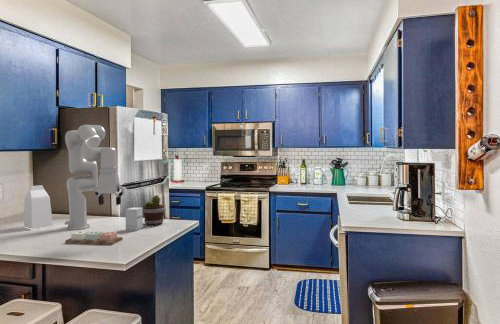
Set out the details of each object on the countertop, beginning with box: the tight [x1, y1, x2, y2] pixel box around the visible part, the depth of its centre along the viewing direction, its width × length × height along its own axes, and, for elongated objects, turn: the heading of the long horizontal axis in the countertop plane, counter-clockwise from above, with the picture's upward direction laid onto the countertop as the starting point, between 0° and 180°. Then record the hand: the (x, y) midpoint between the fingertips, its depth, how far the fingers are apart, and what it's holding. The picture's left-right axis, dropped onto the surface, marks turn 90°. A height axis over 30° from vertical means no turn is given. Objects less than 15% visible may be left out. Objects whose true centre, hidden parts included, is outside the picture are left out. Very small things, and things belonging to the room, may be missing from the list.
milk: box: [23, 184, 54, 229], centre depth 222 cm, size 12×12×26 cm
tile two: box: [85, 231, 104, 240], centre depth 184 cm, size 6×6×3 cm
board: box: [64, 236, 124, 246], centre depth 185 cm, size 26×10×2 cm, turn 80°
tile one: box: [70, 230, 90, 240], centre depth 186 cm, size 6×6×3 cm
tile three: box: [100, 231, 118, 241], centre depth 183 cm, size 6×6×3 cm
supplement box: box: [124, 207, 144, 232], centre depth 212 cm, size 7×7×13 cm
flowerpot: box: [141, 193, 166, 226], centre depth 226 cm, size 14×15×20 cm
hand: (109, 204), depth 184 cm, fingers open, 9 cm apart
